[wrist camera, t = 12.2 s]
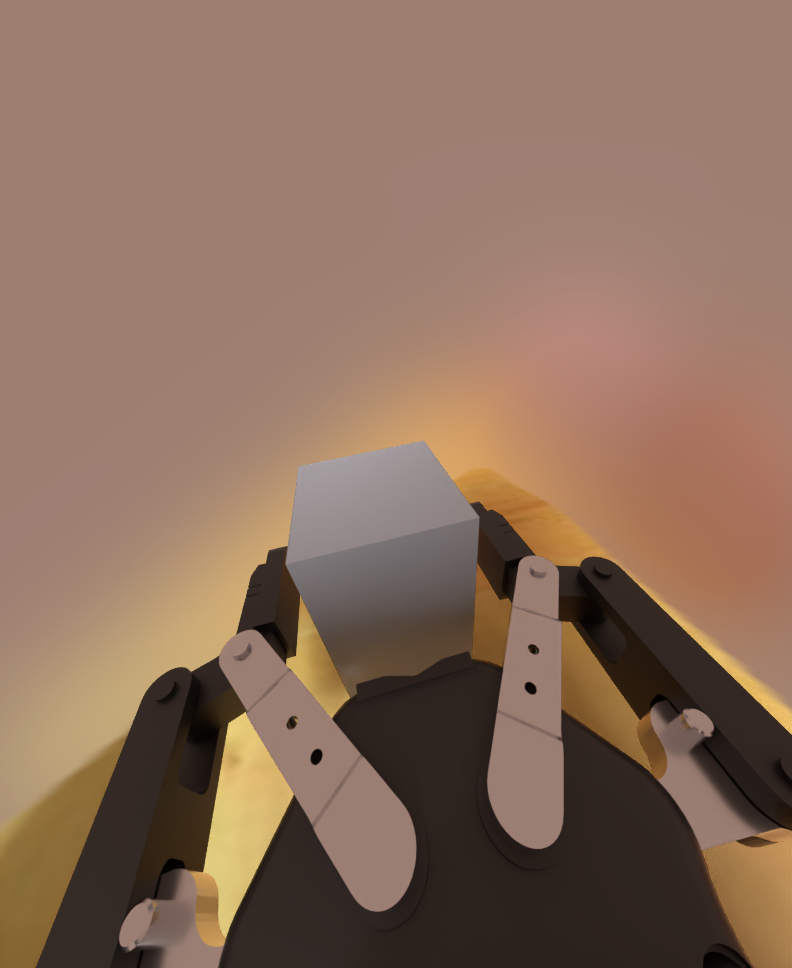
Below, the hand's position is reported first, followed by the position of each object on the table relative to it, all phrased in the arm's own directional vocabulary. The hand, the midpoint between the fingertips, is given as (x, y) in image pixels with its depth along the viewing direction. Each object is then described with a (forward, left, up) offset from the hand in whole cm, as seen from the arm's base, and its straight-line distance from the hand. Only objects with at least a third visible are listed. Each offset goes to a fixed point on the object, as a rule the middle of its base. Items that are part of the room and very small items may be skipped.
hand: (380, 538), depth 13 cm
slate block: (0, -2, -8) cm, 8 cm away
